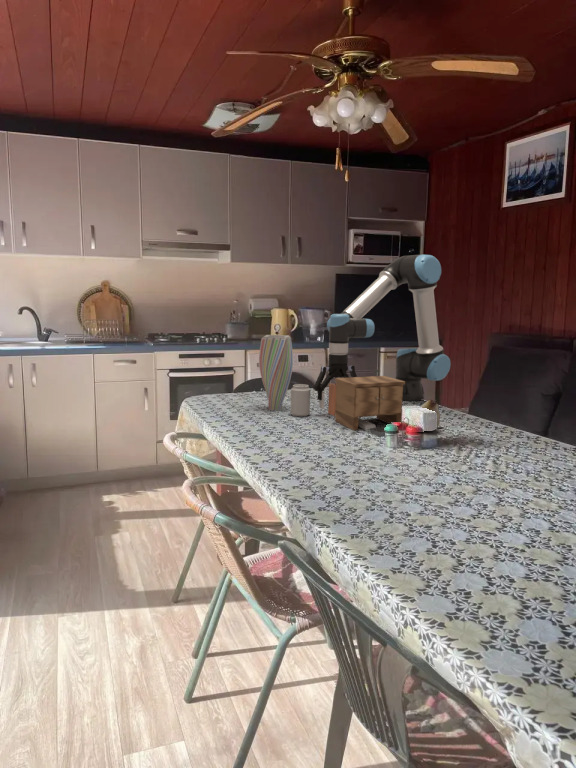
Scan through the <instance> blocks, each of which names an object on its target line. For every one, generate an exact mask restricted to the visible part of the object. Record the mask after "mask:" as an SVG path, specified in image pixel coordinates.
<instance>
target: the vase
mask: <svg viewBox="0 0 576 768" xmlns="http://www.w3.org/2000/svg"><path fill="white" fill-rule="evenodd" d="M258 354H259V355H258V356H259V357H258V365H259V366H258V367H259V373H260V377H261V381H262V384H263V387H264V391H265V393H266V396H267V399H268V401H267V403H268V411H281V410H283V403H284V399H285V397H286V394H287V392H288V389H289V386H290V382H291V377H292V373H293V367H294V353H293V344H292V337H291V336H290V335H285V334H284V335H279V334H266V335H264V336H263V337H262V338H260V345H259V353H258Z"/></svg>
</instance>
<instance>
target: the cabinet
mask: <svg viewBox="0 0 576 768" xmlns="http://www.w3.org/2000/svg"><path fill="white" fill-rule="evenodd" d="M334 378H335V377H334ZM334 381H335V383H336V408H335V416H334V422H336V423H337V424H339V425H341V426H343V427H346V428H348V429H350V430H352V431H356V430H357V431H358V430H359V426H358V418H365V417H376V419H377V420H380V421H382V422H385V423H387V424H390V423H391V422H401V423H402V418H403V417H402V416H403V415H402V413H403V400H402V397H403V384H405V381H401V380H397V379H396V378H394V377H390V376H387V375H378V376H377V375H373V376H372V375H371V376H357V377H350V376H349V378H343V377H337V378H335V379H334Z"/></svg>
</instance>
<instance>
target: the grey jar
mask: <svg viewBox="0 0 576 768" xmlns="http://www.w3.org/2000/svg"><path fill="white" fill-rule="evenodd" d="M310 410H311V388H310V387H309V384H303V383H298V384H293V385H292V387H291V389H290V414H291V415H292V416H293V417H297V416H299V418H300V417H303V416H304V417H307V416H308V415H310V413H311V411H310ZM304 417H303V418H304Z"/></svg>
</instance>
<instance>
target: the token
mask: <svg viewBox="0 0 576 768" xmlns="http://www.w3.org/2000/svg"><path fill="white" fill-rule="evenodd" d="M384 427H385V426H382V427H381V426H380V427H376V428H370V429H369V433H370V434H373V435H374V436H376V437H379V438H380V437H386V436H385V431H384Z"/></svg>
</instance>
